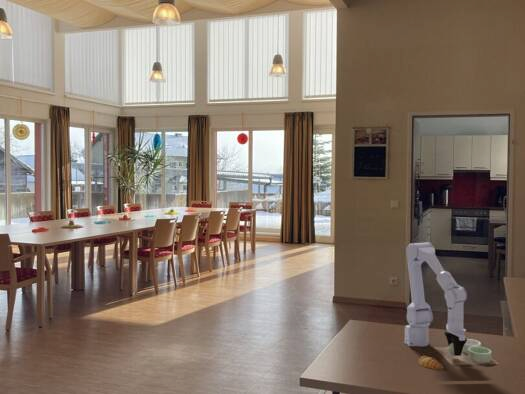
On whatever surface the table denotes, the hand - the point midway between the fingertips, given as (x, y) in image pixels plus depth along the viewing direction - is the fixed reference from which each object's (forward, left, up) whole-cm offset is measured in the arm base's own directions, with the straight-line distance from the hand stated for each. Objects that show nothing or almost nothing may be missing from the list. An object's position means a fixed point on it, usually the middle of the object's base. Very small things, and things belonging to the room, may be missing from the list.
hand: (455, 352), depth 204 cm
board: (+6, +4, -4) cm, 8 cm away
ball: (0, 0, -1) cm, 1 cm away
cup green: (+10, 0, -3) cm, 10 cm away
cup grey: (+10, +9, -3) cm, 14 cm away
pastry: (-11, -5, -4) cm, 13 cm away
